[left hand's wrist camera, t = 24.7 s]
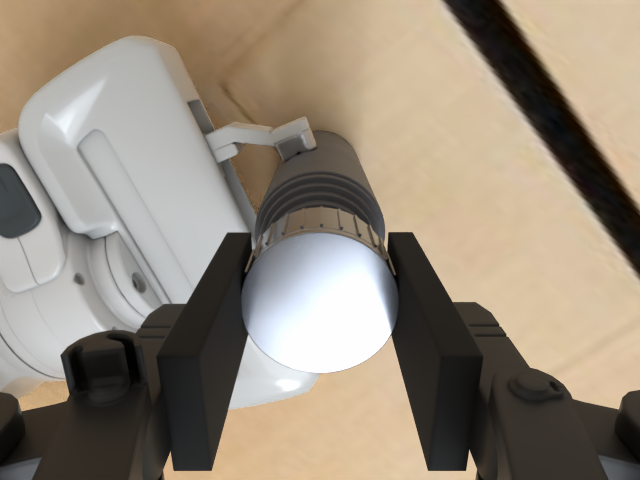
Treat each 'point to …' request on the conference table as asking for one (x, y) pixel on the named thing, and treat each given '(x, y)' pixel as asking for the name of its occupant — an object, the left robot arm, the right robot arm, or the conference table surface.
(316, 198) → the bottle
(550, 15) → the conference table surface
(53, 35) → the conference table surface
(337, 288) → the cap
